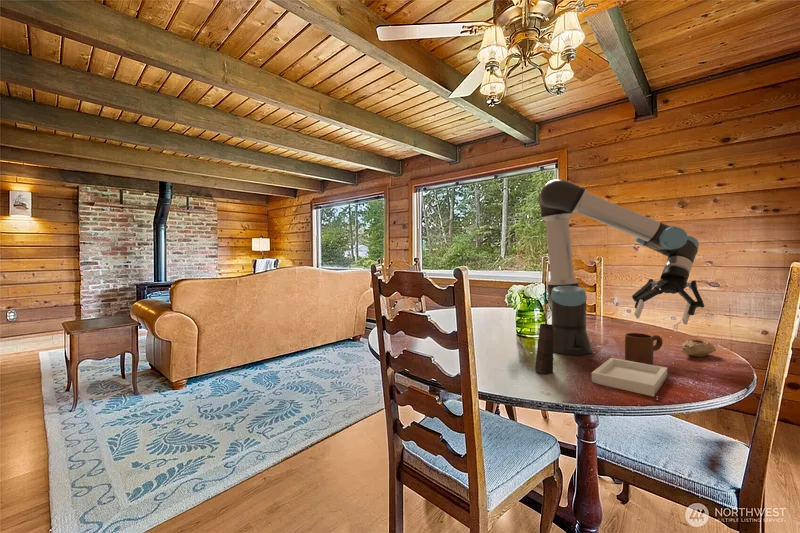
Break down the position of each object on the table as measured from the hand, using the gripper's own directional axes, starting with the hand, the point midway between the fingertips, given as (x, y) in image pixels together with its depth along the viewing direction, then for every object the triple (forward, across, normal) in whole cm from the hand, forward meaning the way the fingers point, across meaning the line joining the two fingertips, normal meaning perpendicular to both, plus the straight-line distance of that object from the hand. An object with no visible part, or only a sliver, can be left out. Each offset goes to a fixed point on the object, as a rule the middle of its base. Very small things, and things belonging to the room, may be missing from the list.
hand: (659, 319), depth 117 cm
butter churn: (+39, +16, +20) cm, 46 cm away
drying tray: (+29, -2, +11) cm, 31 cm away
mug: (+16, +1, -3) cm, 17 cm away
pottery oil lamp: (+1, -6, -19) cm, 20 cm away
